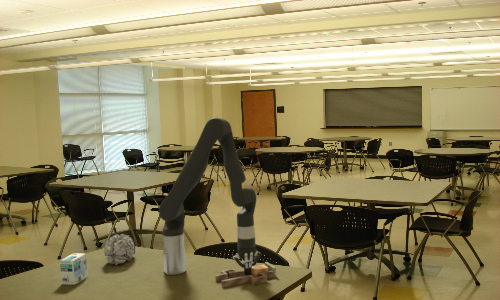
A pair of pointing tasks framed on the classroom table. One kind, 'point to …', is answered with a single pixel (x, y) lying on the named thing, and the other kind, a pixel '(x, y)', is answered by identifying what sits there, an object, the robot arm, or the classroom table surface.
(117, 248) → the educational model
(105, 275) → the classroom table surface
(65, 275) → the light bulb box
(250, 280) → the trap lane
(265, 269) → the block
